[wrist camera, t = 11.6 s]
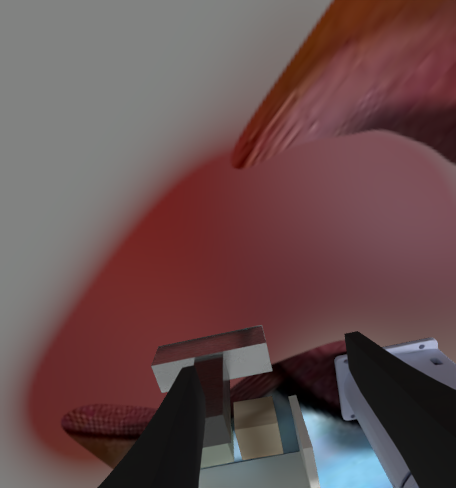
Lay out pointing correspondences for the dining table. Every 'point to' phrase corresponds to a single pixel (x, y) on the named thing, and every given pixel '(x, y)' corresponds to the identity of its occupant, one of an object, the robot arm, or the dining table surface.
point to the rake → (215, 371)
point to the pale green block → (218, 454)
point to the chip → (257, 428)
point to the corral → (270, 466)
